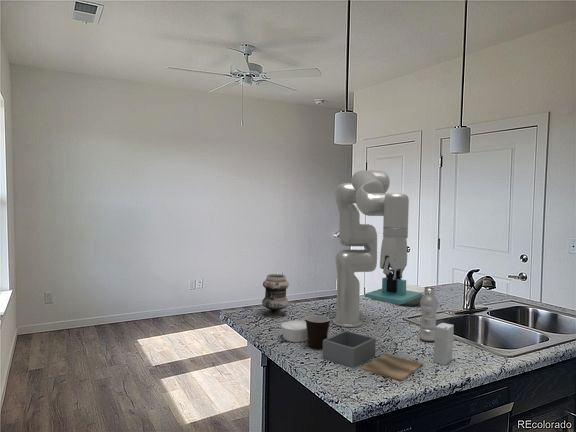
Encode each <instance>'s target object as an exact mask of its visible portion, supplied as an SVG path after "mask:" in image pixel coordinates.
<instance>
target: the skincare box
mask: <svg viewBox="0 0 576 432" xmlns="http://www.w3.org/2000/svg"><path fill="white" fill-rule="evenodd" d="M454 326H455V325H454V324H450V323H446V322H441V323H439V324H436V327H435V340H434V341H433V343H434V345H433V347H434V349H433V363H436V364H439V365H443V366H446V365H447V364H449V363H450V362H451V361H452V360H453V352H454V351H453V348H454Z"/></svg>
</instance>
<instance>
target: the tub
mask: <svg viewBox="0 0 576 432" xmlns="http://www.w3.org/2000/svg"><path fill="white" fill-rule="evenodd" d="M376 342H377V340H376V337H372V336H369V335H365V334H361V333H358V332H353V331H349V330H344V331H341V332H338V333H336V334H334V335H331V336H329V337H327V339H324V340H323V349H322V356H321V357H322V359H325V360H328V361H330V362H333V363H338V364H340V365H343V366H345V367H346V366H347V367H350V368H356V367H357V366H359V365H361V364H363V363H364V362H367V361H368V360H370V359H372V358H374V357H376V345H377V344H376Z"/></svg>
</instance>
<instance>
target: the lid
mask: <svg viewBox="0 0 576 432" xmlns="http://www.w3.org/2000/svg"><path fill="white" fill-rule="evenodd" d="M396 280H397V292H396V293H392V292H387V291H386V288H387V279H386V276H385V277H382V278H381V285H382V286H381V288H380V289H377V290H373V291H370V292H369V291H368V292H366V293H364V298H369V299H370V300H372V301H377V302H382V303H386V304H390V305H391V304H392V305H397V306H402V305H401V304H403V303H406V302H409V301H411V300H414V299H416V298H419V297H421V296H422V293H419V292H413V291H407V290H406V284H407V280H406V279H402V278H400V279H396Z"/></svg>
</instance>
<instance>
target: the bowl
mask: <svg viewBox="0 0 576 432" xmlns="http://www.w3.org/2000/svg"><path fill="white" fill-rule="evenodd" d="M406 290H407V291H413V292H419V293H422V296H421V297H419V298H416V299H414V300H411V301H409V302H406V303H403V304H402V305H401V306H406V305H407V306H408V307H414V305H415V306H417V305H418V304H421V303H420V301H421V298H422V297H423V296H424V295H425V293H424V291H425V286H421V285H420V286H419V285H415V284H407V283H406ZM407 306H406V307H407Z"/></svg>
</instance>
